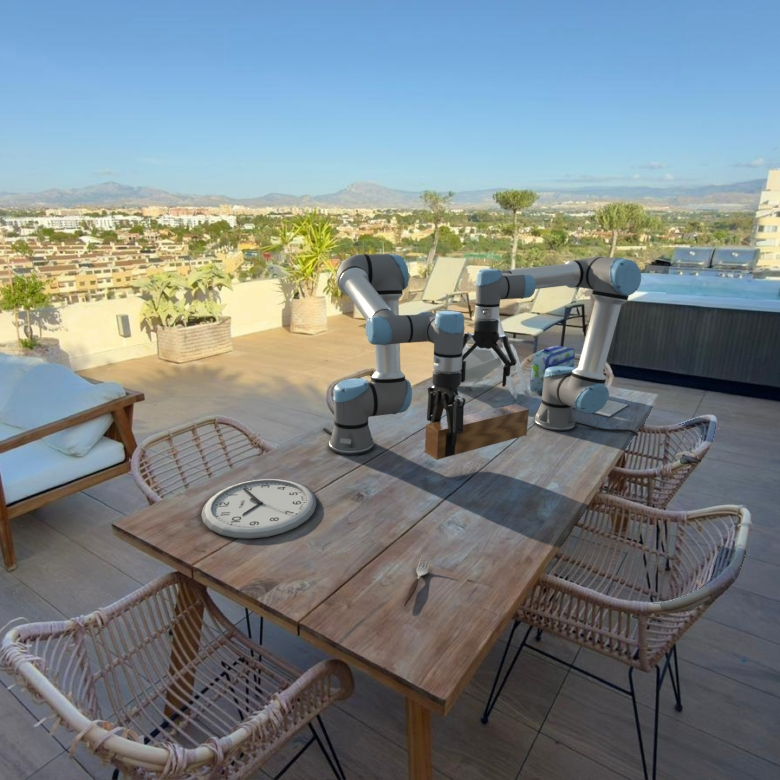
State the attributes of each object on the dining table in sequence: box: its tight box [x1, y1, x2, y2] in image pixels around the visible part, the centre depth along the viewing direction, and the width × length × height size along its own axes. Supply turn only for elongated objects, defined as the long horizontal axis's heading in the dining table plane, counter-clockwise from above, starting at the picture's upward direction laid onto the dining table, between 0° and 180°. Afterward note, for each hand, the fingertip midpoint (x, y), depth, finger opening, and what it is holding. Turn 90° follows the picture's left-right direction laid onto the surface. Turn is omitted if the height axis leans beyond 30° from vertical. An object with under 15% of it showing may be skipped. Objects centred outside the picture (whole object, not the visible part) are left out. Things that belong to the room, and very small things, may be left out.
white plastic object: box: [461, 317, 531, 400], centre depth 245 cm, size 37×45×31 cm
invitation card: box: [594, 399, 629, 418], centre depth 226 cm, size 21×1×15 cm
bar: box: [424, 403, 530, 461], centre depth 151 cm, size 34×6×8 cm, turn 122°
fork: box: [403, 554, 432, 607], centre depth 111 cm, size 3×16×2 cm, turn 160°
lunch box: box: [529, 345, 576, 394], centre depth 244 cm, size 26×11×21 cm, turn 135°
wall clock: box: [201, 478, 317, 539], centre depth 141 cm, size 30×2×30 cm
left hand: (442, 450), depth 145 cm, fingers closed on bar, 6 cm apart
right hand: (483, 383), depth 172 cm, fingers open, 13 cm apart
